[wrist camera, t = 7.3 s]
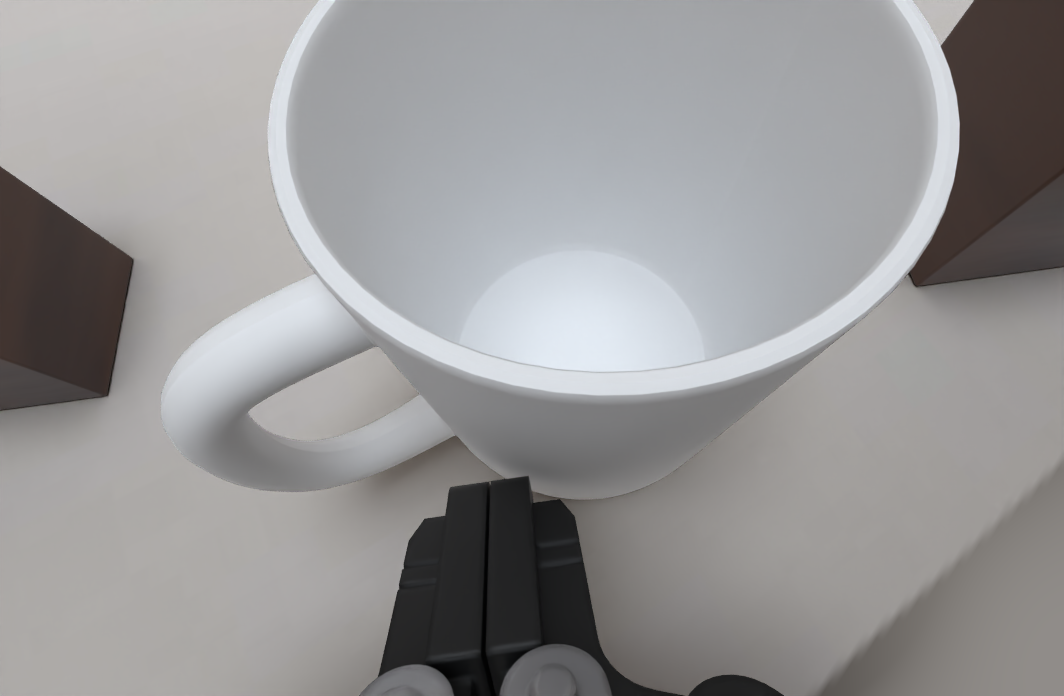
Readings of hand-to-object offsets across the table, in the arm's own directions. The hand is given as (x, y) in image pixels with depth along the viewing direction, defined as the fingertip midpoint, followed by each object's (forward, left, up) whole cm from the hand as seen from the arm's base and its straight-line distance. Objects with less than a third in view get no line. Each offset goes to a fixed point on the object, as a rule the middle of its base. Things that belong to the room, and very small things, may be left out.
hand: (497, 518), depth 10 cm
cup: (+2, -3, -5) cm, 6 cm away
